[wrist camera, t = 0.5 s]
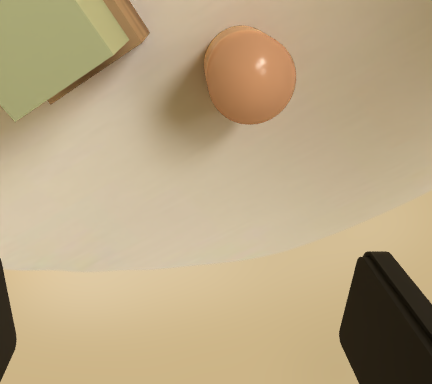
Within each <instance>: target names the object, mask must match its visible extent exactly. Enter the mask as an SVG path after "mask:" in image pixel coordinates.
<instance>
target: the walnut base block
mask: <svg viewBox="0 0 432 384" xmlns="http://www.w3.org/2000/svg"><path fill="white" fill-rule="evenodd" d="M103 1H104V3H105V4H106V5H107V7H108V8H109V10H110V11H111V13H112V14H113V16H114V17H115V19H116V20H117V22H118V23H119V25H120V26H121V28H122V29H123V31H124V32H125V34H126V35H127V37H128V38H129V41H128V42H127V43H126V44H125V45H124V46H123V47H122V48H120V49H119V50H118V51H117V52H116V53H115V54H114V55H113V56H111V57H110V58H109V59H107V60H106V61H104V62H103V63H101V64H100V65H98V66H97V67H95V68H94V69H92V70H91V71H89V72H88V73H87V74H85V75H84V76H82V77H81V78H79V79H78V80H76V81H75V82H73V83H72V84H70V85H69V86H67V87H66V88H65V89H63V90H62V91H60V92H59V93H57V94H56V95H54V96H53V97H51V98H50V99H48V100H47V101H48V102H49V103H50V104H52V103H54V102H55V101H57V100H58V99H60V98H61V97H63V96H64V95H65V94H67V93H68V92H70V91H71V90H73V89H74V88H76V87H77V86H79V85H80V84H82V83H83V82H85V81H86V80H88V79H89V78H91V77H92V76H94V75H95V74H96V73H98V72H99V71H101V70H102V69H104V68H105V67H107V66H108V65H110V64H111V63H113V62H114V61H116V60H117V59H119V58H120V57H122V56H123V55H125V54H126V53H127V52H129V51H130V50H132V49H133V48H135V47H136V46H138V45H139V44H141V43H142V42H143V41H144V39H145V38H146V37H147V36H148V34H149V33H150V32H149V31H148V29H147V27H146V26H145V24H144V23H143V21H142V20H141V18H140V17H139V15H138V13H137V12H136V10H135V9H134V7H133V6H132V4H131V3H130V1H129V0H103Z"/></svg>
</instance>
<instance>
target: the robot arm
mask: <svg viewBox="0 0 432 384" xmlns="http://www.w3.org/2000/svg"><path fill="white" fill-rule="evenodd" d="M339 337H340V343H341V345H342V347H343V350H344V352H345V354H346V356H347V358H348V360H349V363H350V365H351V367H352V369H353V371H354V373H355V375H356V377H357V380H358V382H359V384H432V304H431V303H430V302H429V300H428V299H427V298H426V297H425V296H424V294H423V293H422V292H421V291H420V289H419V288H418V287H417V286H416V284H415V283H414V282H413V281H412V279H410V277H409V276H408V275H407V273H406V272H405V271H404V270H403V268H402V267H401V266H400V265H399V263H398V262H397V261H396V260H395V259H394V258H393V256H392V255H391V254H390V253H389V252H366V253H365V254H364V256H363V257H359V258H358V260H357V263H356V267H355V271H354V276H353V279H352V283H351V287H350V291H349V295H348V299H347V303H346V307H345V311H344V315H343V319H342V323H341V327H340V331H339ZM15 347H16V332H15V327H14V322H13V317H12V312H11V308H10V302H9V297H8V292H7V287H6V282H5V278H4V272H3V267H2V262H1V259H0V381H1V379H2V377H3V374H4V373H5V370H6V368H7V366H8V364H9V361H10V359H11V357H12V355H13V353H14V350H15Z"/></svg>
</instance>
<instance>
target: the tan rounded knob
mask: <svg viewBox="0 0 432 384" xmlns="http://www.w3.org/2000/svg"><path fill="white" fill-rule="evenodd" d="M204 72H205V77H206V81H207V86H208V90H209V95H210V97H211V100H212V102H213V104H214V105H215V107H216V108H217V110H218V111H219V112H220V113H221V114H222V115H224V116H225V117H226V118H228V119H230V120H232V121H234V122H237V123H240V124H258V123H262V122H265V121H268V120H270V119H272V118H273V117H275V116H276V115H278V114H279V113H280V112H281V111H282V110H283V109H284V108H285V107H286V105H287V104H288V102H289V101H290V99H291V97H292V94H293V92H294V88H295V83H296V71H295V66H294V62H293V60H292V58H291V56H290V54H289V52H288V51H287V50H286V48H285V47H284V46H283V45H282V44H280V43H279V42H278V41H276V40H275V39H273V38H271V37H270V36H268V35H266V34H265V33H263V32H261V31H260V30H258V29H256V28H253V27H250V26H234V27H230V28H228V29H226V30H224V31H222V32H221V33H219V34H218V35H217V36H216V37H215V38H214V39H213V40H212V42H211V43H210V45H209V46H208V48H207V51H206V54H205V58H204Z"/></svg>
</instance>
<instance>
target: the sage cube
mask: <svg viewBox="0 0 432 384" xmlns="http://www.w3.org/2000/svg"><path fill="white" fill-rule="evenodd" d="M128 41H129V38H128V37H127V35H126V34H125V32H124V31H123V29H122V28H121V26H120V25H119V23H118V22H117V20H116V19H115V17H114V16H113V14H112V13H111V11H110V10H109V8H108V7H107V5H106V4H105V3H104V1H103V0H0V106H1V107H2V108H3V109H4V110H5V111H6V113H7V114H8V115H9V116H10V117H11V118H12V119H13V121H14V122H16V121H18V120H19V119H21V118H22V117H24V116H25V115H26V114H28V113H29V112H31V111H32V110H34V109H35V108H37V107H38V106H40V105H41V104H43V103H44V102H46V101H47V100H48V99H50V98H51V97H53V96H54V95H56V94H57V93H59V92H60V91H62V90H63V89H65V88H66V87H67V86H69V85H70V84H72V83H73V82H75V81H76V80H78V79H79V78H81V77H82V76H84V75H85V74H87V73H88V72H89V71H91V70H92V69H94V68H95V67H97V66H98V65H100V64H101V63H103V62H104V61H106V60H107V59H109V58H110V57H111V56H113V55H114V54H115V53H116V52H117V51H118V50H119V49H120V48H122V47H123V46H124V45H125V44H126V43H127V42H128Z"/></svg>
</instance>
